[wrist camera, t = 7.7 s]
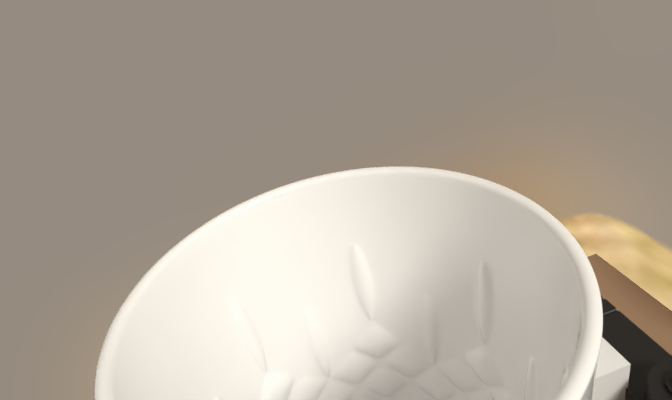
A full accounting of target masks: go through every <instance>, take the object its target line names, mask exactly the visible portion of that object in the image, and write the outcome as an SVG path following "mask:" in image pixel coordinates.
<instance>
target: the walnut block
mask: <svg viewBox="0 0 672 400" xmlns="http://www.w3.org/2000/svg"><path fill="white" fill-rule="evenodd" d="M587 258H588V260H589V262H590V264H591V266H592V268H593V271H594V273H595V276H596V279H597V282H598V286H599V290H600V294H601V295H602V297H603V299H606V300H607V301H609V302H610V303H611V304H612V305H613V306H614V307H616V310H617V311H620V312H621V313H623V314H624V315H625V316H626V317H627V318H628V319H629V320H631V321H632V322H633V323H634V324H635V325H636V326H638V327H639V328H640V329H641V330H642V331H643V332H645V333H646V334H647V335H648V336H649V337H650V338H652V339H653V340H654V341H655V342H656V343H657V344H659V345H660V346H661V347H662V348H663V349H664V350H665V351H667V352H668V353H669V354H670V355H672V311H671V310H669V309H668V308H667V307H665V306H664V305H663V304H661V303H660V302H659V301H657V300H656V299H655V298H653V297H652V296H651V295H650V294H648V293H647V292H646V291H644V290H643V289H642V288H640V287H639V286H638V285H636V284H635V283H634V282H632V281H631V280H630V279H628V278H627V277H626V276H625V275H623V274H622V273H621V272H619V271H618V270H617V269H615V268H614V267H613V266H611V265H610V264H609V263H607V262H606V261H605V260H603V259H602V258H601V257H600V256H598V255H597V254H594V255H592V256H589V257H587Z"/></svg>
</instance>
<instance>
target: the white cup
mask: <svg viewBox="0 0 672 400" xmlns="http://www.w3.org/2000/svg"><path fill="white" fill-rule="evenodd" d="M602 332H603V308H602V300H601V294H600V290H599V286H598V282H597V279H596V276H595V273H594V271H593V268H592V266H591V264H590V262H589V260H588V258H587V256H586V254H585V252H584V251H583V249H582V248H581V246H580V245H579V243H578V242H577V240H576V239H575V238H574V237H573V235H572V234H571V233H570V232H569V231H568V230H567V229H566V228H565V226H563V225H562V224H561V223H560V222H559V221H558V220H557V219H556V218H555V217H553V215H551V214H550V213H549V212H547V211H546V210H545V209H544V208H542V207H541V206H539V205H538V204H537V203H535V202H533V201H532V200H530V199H528V198H527V197H525V196H523V195H521V194H519V193H517V192H515V191H513V190H511V189H509V188H507V187H504V186H502V185H500V184H497V183H494V182H491V181H488V180H485V179H482V178H479V177H475V176H472V175H468V174H463V173H459V172H454V171H448V170H442V169H434V168H423V167H402V166H401V167H400V166H394V167H372V168H362V169H354V170H347V171H340V172H334V173H329V174H325V175H321V176H316V177H312V178H308V179H304V180H301V181H297V182H294V183H291V184H288V185H285V186H282V187H279V188H276V189H273V190H271V191H268V192H265V193H263V194H260V195H258V196H256V197H253V198H251V199H249V200H247V201H245V202H243V203H240V204H239V205H237V206H234V207H233V208H231V209H229V210H227V211H225V212H223V213H222V214H220V215H218V216H216V217H215V218H213V219H211V220H210V221H208V222H207V223H205V224H204V225H202V226H200V227H199V228H198V229H196V230H195V231H193V232H192V233H190V234H189V235H188V236H186V237H185V238H184V239H183V240H181V241H180V242H179V243H177V244H176V245H175V246H174V247H173V248H171V249H170V250H169V251H168V252H167V253H166V254H165V255H164V256H162V257H161V258H160V259H159V260H158V261H157V262H156V263H155V264H154V265H153V266H152V267H151V268H150V269H149V270H148V272H147V273H146V274H145V275H144V276H143V277H142V278H141V280H140V281H139V282H138V283H137V284H136V286H135V287H134V288H133V290H132V291H131V292H130V294H129V295H128V296H127V298H126V299H125V301H124V302H123V304H122V306H121V307H120V309H119V310H118V312H117V314H116V316H115V318H114V319H113V322H112V323H111V326H110V328H109V330H108V332H107V334H106V337H105V340H104V342H103V345H102V348H101V351H100V355H99V359H98V363H97V368H96V375H95V386H94V400H593V393H594V387H595V380H596V374H597V367H598V361H599V354H600V348H601V341H602Z"/></svg>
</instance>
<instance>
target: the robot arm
mask: <svg viewBox="0 0 672 400" xmlns="http://www.w3.org/2000/svg"><path fill="white" fill-rule="evenodd" d="M601 300H602V308H603V332H602V341H601V348H600V354H599V361H598V367H597V374H596V380H595V387H594V393H593V400H672V355H670V354H669V353H668V352H667V351H665V350H664V349H663V348H662V347H661V346H660V345H659V344H657V343H656V342H655V341H654V340H653V339H652V338H650V337H649V336H648V335H647V334H646V333H645V332H643V331H642V330H641V329H640V328H639V327H638V326H636V325H635V324H634V323H633V322H632V321H631V320H629V319H628V318H627V317H626V316H625V315H624V314H623V313H621V312H620V311H617V310H616V307H614V306H613V305H612V304H611V303H610V302H609V301H607V300H606V299H603V297H602V295H601Z"/></svg>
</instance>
